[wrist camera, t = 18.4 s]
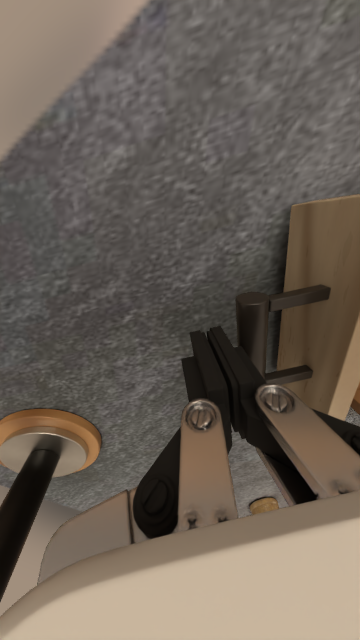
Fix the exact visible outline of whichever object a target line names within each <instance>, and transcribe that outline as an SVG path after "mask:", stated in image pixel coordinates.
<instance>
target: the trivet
mask: <svg viewBox="0 0 360 640" xmlns="http://www.w3.org/2000/svg"><path fill="white" fill-rule="evenodd" d="M37 426H46V427H56V428H60V429H64V430H67V431H70V432H72V433H74V434H76V435H78V436H79V437H81V438H82V439H83V440H84V441H85V442H86V444H87V446H88V456H87V459H86V462H85V464H84V465H83V466H82V467H81V468H80V469H79V470H77V471H80V470H82V469H84V468H86V467H88V466H89V465H91V464H92V463H93V462H94V461H95V460H96V458H97V457H98V455H99V452H100V448H101V443H102V442H101V436H100V433H99V431H98V430H97V429H96V427H95V426H94V425H92V424H91V423H90V422H89V421H87V420H86V419H84V418H82V417H80V416H78V415H75V414H72V413H69V412H65V411H61V410H55V409H29V410H23V411H19V412H16V413H13V414H11V415H8V416H7V417H5V418H3V419H2V420H1V421H0V446H1V445H2V443H3V442H4V441H5V439H6V438H7V437H8V436H9V435H11V434H12V433H14V432H16V431H18V430H21V429H24V428H29V427H37ZM0 464H2V465H3V466H5V465H4V464H3V463H2V462H1V460H0ZM5 467H6V466H5ZM7 468H8V467H7ZM77 471H75V472H77ZM73 473H74V472H73Z"/></svg>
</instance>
